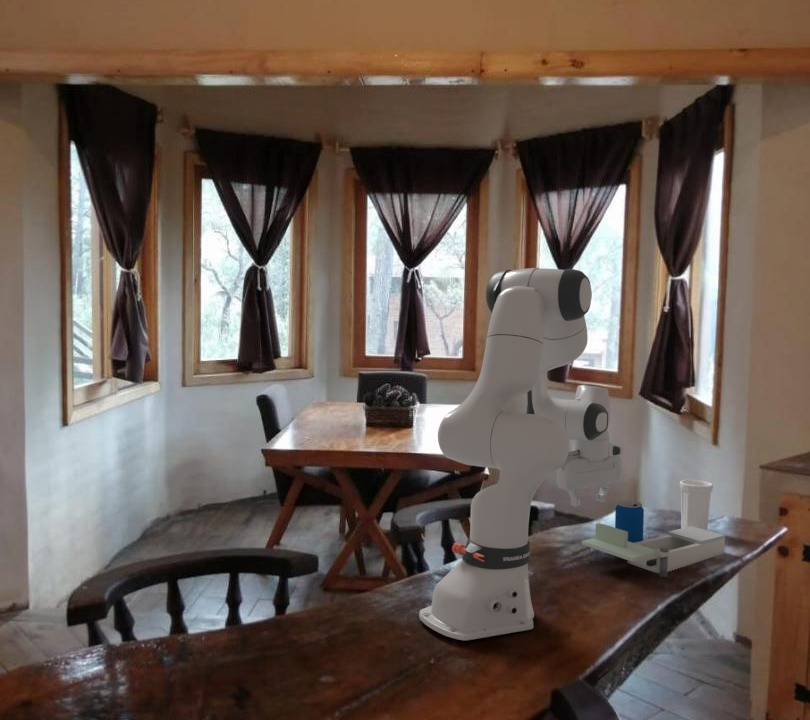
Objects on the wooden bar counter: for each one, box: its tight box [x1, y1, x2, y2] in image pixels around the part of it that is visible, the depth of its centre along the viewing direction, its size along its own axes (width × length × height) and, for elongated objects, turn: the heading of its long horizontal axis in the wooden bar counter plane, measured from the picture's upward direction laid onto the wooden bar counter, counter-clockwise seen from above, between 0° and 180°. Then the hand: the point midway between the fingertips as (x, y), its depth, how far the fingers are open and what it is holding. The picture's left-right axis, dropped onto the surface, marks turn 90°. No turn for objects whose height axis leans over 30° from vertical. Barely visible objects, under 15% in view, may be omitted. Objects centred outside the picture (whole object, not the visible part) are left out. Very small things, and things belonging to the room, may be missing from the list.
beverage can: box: [614, 500, 645, 543], centre depth 177 cm, size 6×6×12 cm
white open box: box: [627, 526, 726, 578], centre depth 172 cm, size 25×11×5 cm, turn 125°
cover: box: [581, 522, 670, 562], centre depth 164 cm, size 16×11×4 cm
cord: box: [646, 558, 657, 566], centre depth 173 cm, size 23×1×1 cm, turn 125°
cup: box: [679, 479, 714, 530], centre depth 192 cm, size 8×8×14 cm
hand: (588, 503), depth 186 cm, fingers open, 8 cm apart
